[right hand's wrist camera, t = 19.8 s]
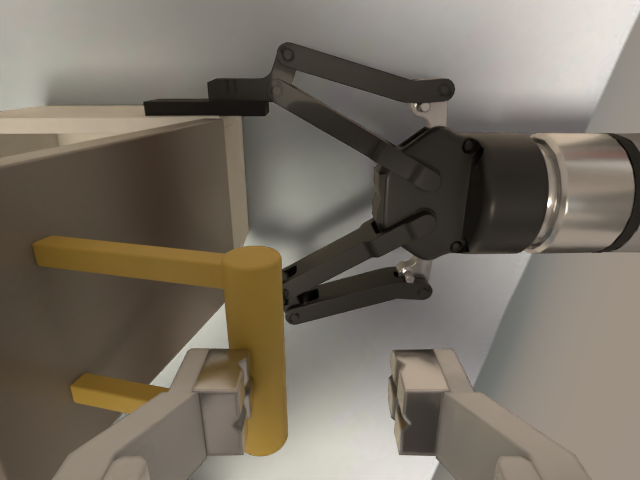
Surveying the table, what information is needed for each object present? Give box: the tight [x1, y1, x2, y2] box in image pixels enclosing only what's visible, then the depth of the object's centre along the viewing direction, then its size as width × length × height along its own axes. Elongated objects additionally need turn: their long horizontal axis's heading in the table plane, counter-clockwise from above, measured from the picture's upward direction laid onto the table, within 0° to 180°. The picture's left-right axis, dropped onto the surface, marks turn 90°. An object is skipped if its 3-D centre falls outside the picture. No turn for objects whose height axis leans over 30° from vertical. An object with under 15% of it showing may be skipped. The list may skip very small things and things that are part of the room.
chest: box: [0, 105, 249, 249], centre depth 28 cm, size 14×10×9 cm
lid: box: [0, 118, 288, 480], centre depth 16 cm, size 15×10×8 cm
